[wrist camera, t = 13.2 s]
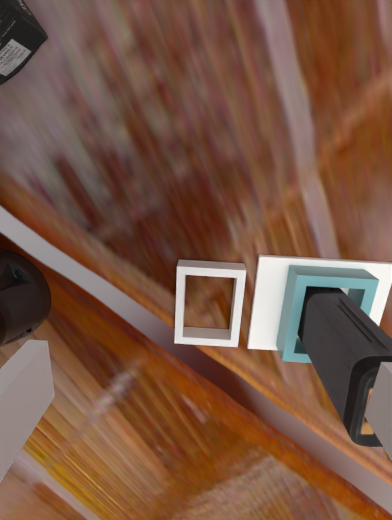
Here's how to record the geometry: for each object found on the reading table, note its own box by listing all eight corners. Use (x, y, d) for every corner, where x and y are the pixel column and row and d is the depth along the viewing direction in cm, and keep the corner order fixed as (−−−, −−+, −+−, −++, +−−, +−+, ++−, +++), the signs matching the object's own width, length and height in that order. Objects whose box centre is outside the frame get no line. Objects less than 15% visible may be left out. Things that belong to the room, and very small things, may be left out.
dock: (247, 344, 50) (251, 364, 45) (258, 254, 44) (264, 266, 40) (366, 352, 49) (383, 372, 45) (392, 262, 44) (415, 274, 39)
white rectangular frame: (176, 332, 49) (174, 343, 46) (178, 259, 45) (177, 266, 42) (235, 336, 49) (237, 347, 46) (243, 263, 45) (246, 270, 42)
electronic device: (330, 332, 47) (412, 450, 28) (292, 333, 47) (349, 449, 28) (337, 278, 44) (436, 370, 25) (297, 279, 44) (364, 370, 25)
